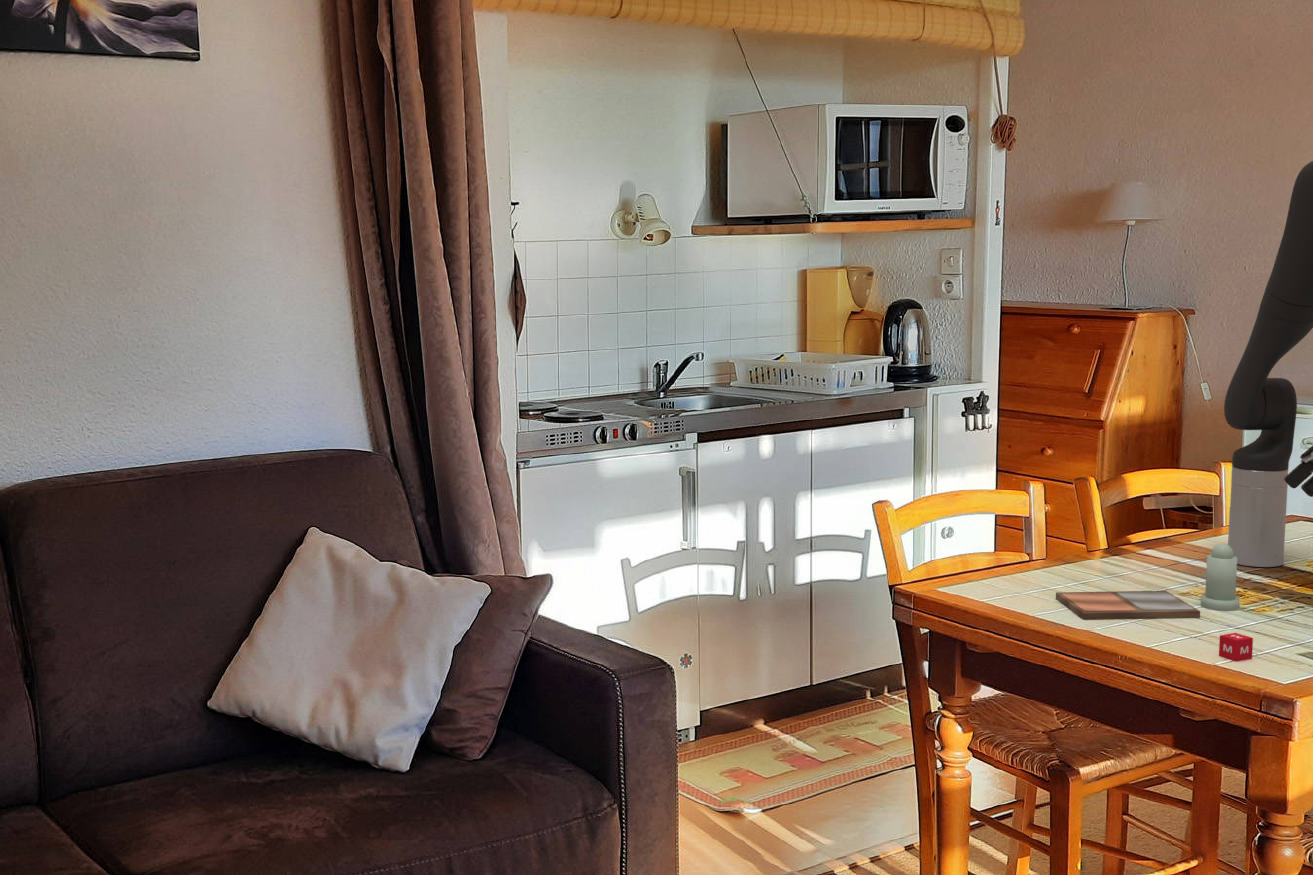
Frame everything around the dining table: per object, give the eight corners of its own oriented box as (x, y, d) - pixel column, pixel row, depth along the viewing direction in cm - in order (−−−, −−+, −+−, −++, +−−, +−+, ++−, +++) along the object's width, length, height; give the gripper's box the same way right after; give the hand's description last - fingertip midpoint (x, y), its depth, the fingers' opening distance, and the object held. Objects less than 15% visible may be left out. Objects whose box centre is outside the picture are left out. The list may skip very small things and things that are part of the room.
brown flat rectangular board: (1055, 598, 220) (1056, 591, 219) (1165, 596, 220) (1165, 590, 220) (1083, 619, 207) (1083, 612, 207) (1200, 617, 207) (1200, 610, 207)
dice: (1218, 656, 188) (1219, 635, 187) (1234, 653, 189) (1235, 632, 188) (1236, 661, 185) (1237, 640, 184) (1252, 659, 186) (1253, 637, 186)
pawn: (1194, 602, 217) (1197, 540, 215) (1229, 601, 217) (1232, 539, 215) (1210, 611, 211) (1212, 547, 210) (1245, 610, 211) (1248, 547, 210)
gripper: (1345, 394, 214) (1265, 465, 217) (1379, 401, 200) (1293, 477, 203) (1379, 427, 214) (1299, 498, 217) (1416, 437, 200) (1329, 513, 203)
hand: (1296, 488), depth 210 cm, fingers open, 8 cm apart
